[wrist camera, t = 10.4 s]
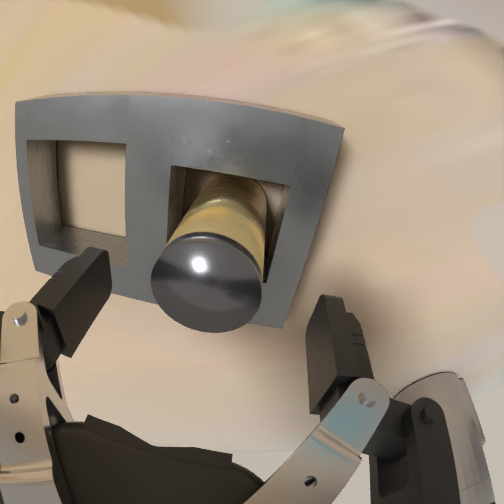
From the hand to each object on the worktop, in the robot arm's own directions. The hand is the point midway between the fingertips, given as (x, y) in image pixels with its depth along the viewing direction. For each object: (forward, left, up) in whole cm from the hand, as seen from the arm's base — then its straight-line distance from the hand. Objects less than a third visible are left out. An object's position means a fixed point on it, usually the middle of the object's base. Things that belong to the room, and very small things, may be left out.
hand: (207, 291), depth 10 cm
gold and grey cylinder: (0, 0, -8) cm, 8 cm away
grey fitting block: (+5, 0, -8) cm, 9 cm away
